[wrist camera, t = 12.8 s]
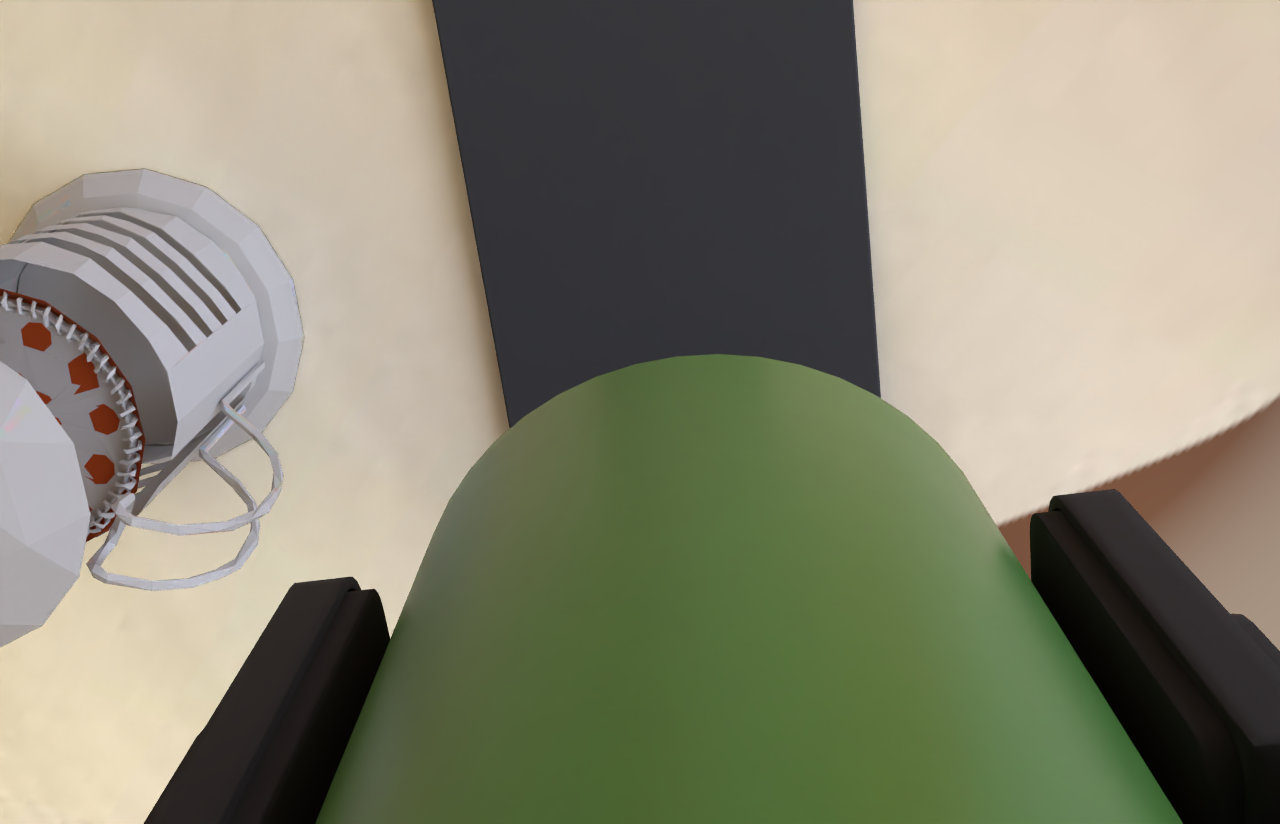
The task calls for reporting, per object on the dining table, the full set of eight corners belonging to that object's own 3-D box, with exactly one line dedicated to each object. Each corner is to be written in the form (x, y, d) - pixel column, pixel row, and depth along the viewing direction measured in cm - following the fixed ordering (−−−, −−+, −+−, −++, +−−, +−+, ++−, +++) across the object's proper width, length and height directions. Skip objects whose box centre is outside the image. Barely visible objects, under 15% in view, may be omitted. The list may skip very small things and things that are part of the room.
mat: (522, 482, 40) (520, 489, 40) (404, -171, 34) (400, -174, 33) (881, 439, 40) (884, 446, 39) (833, -236, 33) (836, -239, 33)
